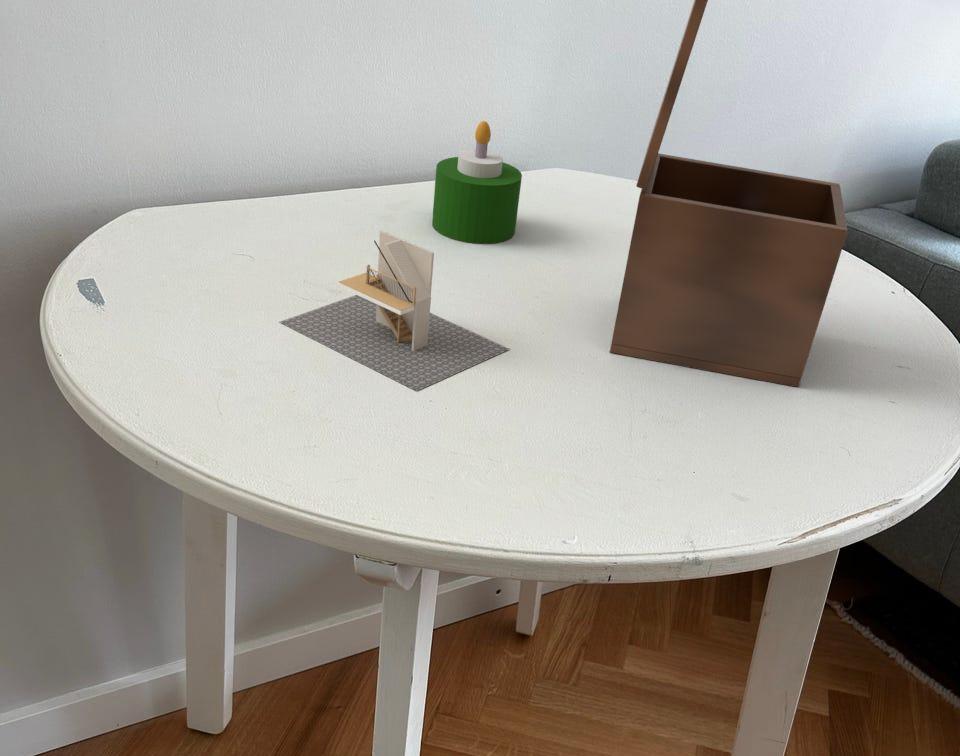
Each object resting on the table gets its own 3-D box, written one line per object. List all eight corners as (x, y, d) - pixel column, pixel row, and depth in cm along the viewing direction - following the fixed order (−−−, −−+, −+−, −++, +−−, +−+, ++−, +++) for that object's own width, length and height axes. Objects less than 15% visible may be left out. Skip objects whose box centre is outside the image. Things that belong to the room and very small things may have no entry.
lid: (731, -80, 82) (720, -83, 82) (727, -59, 73) (715, -62, 73) (657, 147, 92) (648, 144, 92) (646, 190, 83) (635, 187, 83)
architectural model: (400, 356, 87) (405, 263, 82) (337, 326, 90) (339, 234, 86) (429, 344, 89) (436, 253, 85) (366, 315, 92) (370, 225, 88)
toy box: (795, 330, 99) (839, 183, 91) (798, 387, 90) (848, 230, 82) (623, 299, 101) (651, 151, 92) (609, 352, 92) (639, 194, 84)
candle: (442, 207, 114) (451, 103, 108) (521, 221, 113) (534, 117, 107) (423, 234, 108) (430, 125, 101) (506, 249, 107) (519, 140, 101)
